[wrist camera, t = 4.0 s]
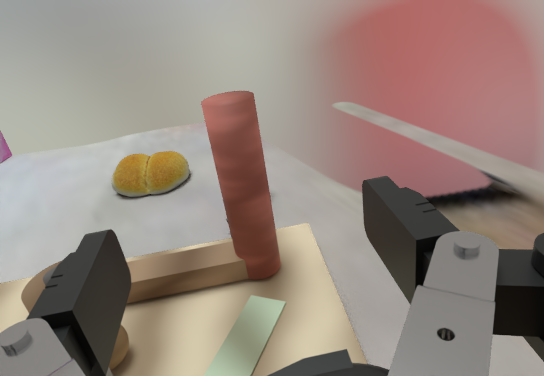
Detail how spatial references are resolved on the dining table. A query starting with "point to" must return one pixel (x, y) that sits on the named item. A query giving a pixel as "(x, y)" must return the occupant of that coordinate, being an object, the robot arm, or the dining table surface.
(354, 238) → the dining table surface
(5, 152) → the gum box
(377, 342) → the dining table surface
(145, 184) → the bread roll
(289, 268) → the board
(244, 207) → the lever
